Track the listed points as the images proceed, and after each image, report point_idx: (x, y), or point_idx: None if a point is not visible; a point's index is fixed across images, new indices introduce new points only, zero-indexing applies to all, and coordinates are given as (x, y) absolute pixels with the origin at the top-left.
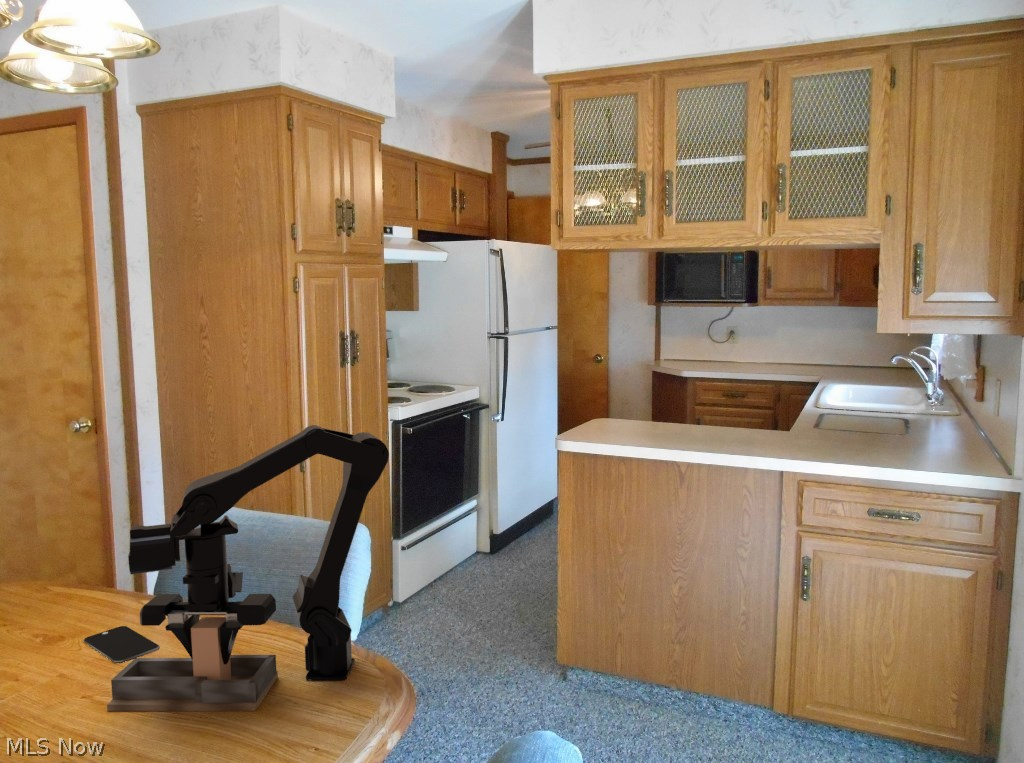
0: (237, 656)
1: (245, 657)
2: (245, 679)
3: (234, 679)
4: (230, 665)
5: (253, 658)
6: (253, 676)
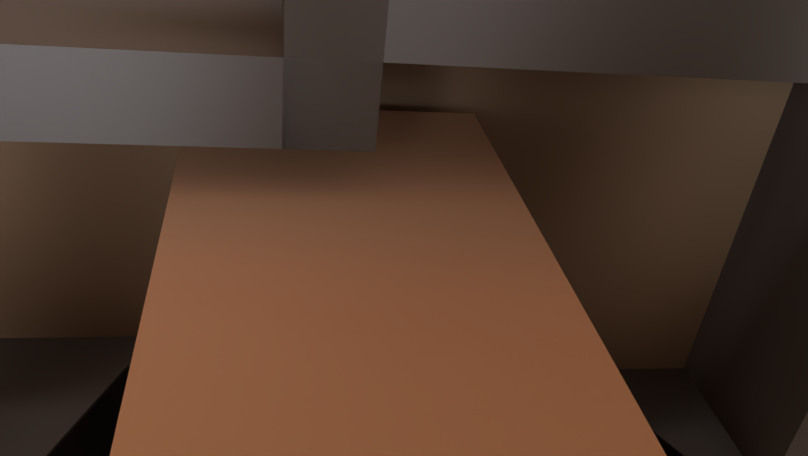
0: (589, 31)
1: (704, 71)
2: (603, 79)
3: (491, 70)
4: (513, 185)
5: (800, 79)
6: (791, 452)
